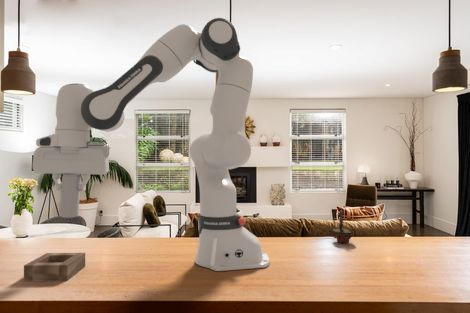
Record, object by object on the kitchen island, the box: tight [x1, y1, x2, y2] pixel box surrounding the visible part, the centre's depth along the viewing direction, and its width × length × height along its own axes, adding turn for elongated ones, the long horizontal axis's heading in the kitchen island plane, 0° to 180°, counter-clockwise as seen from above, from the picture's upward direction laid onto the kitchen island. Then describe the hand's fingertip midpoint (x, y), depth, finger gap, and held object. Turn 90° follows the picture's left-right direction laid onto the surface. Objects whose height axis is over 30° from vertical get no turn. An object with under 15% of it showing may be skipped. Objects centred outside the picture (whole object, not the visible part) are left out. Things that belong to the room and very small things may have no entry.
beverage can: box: [59, 174, 82, 219], centre depth 94 cm, size 5×5×12 cm
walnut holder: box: [23, 252, 86, 282], centre depth 91 cm, size 11×11×4 cm
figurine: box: [329, 209, 354, 244], centre depth 123 cm, size 10×8×12 cm
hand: (71, 190), depth 94 cm, fingers closed on beverage can, 5 cm apart
